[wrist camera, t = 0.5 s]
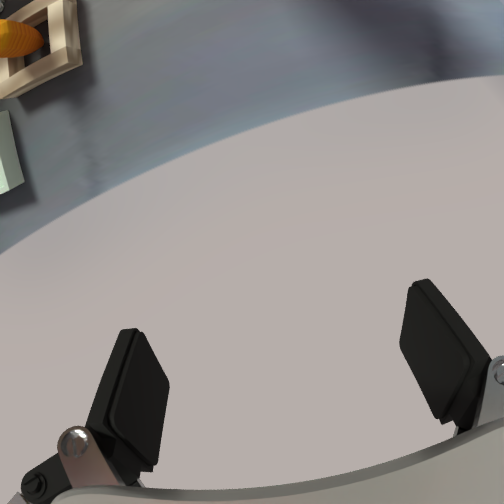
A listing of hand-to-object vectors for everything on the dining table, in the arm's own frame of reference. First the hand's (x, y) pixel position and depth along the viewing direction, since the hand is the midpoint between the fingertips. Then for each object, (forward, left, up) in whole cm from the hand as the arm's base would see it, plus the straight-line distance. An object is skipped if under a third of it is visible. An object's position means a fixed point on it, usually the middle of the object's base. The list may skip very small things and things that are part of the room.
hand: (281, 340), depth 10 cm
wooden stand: (-24, -25, -30) cm, 46 cm away
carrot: (-24, -25, -30) cm, 46 cm away
